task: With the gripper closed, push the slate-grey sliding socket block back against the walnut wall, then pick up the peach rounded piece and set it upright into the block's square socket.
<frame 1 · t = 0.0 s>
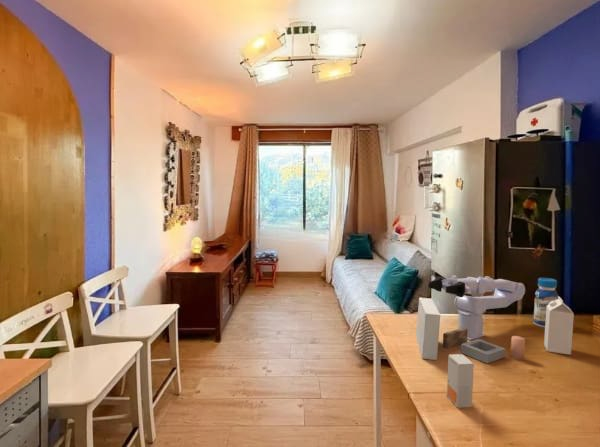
hand: (437, 287, 139), 22 cm above the table, tool horizontal, fingers open, 7 cm apart
socket block: (482, 350, 132), point 2 cm above the table, slide at 5.0 cm
peach rounded piece: (517, 357, 130), on the table
beverage bottle: (544, 325, 163), on the table
milk carton: (556, 350, 137), on the table
walnut wall: (455, 344, 141), on the table
skincare box: (458, 402, 102), on the table
skincare box 2: (426, 348, 138), on the table
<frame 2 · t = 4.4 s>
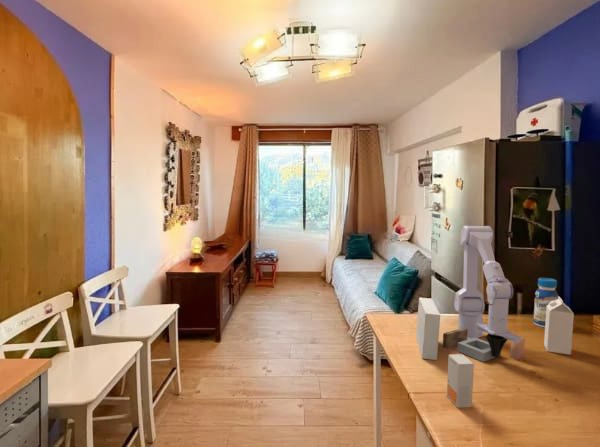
hand: (495, 356, 128), 1 cm above the table, tool pointing down, fingers closed
socket block: (478, 348, 133), point 2 cm above the table, slide at 3.5 cm, touching gripper
everything else where it was.
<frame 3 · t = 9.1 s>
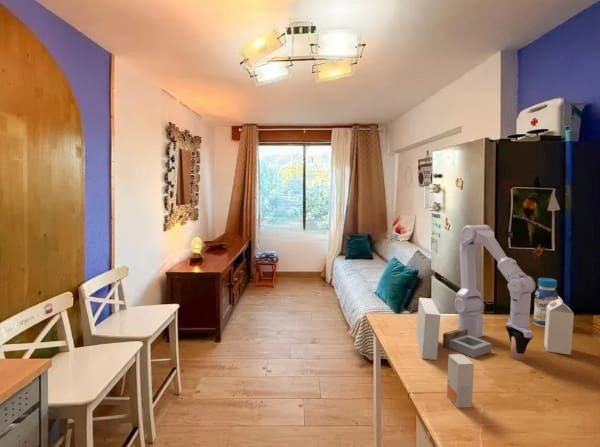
hand: (517, 350, 130), 3 cm above the table, tool pointing down, fingers closed on peach rounded piece, 4 cm apart
socket block: (469, 345, 136), point 2 cm above the table, slide at 0.0 cm
peach rounded piece: (517, 357, 130), on the table, touching gripper
everything else where it was.
when the fingers open (4 cm above the table, at t = 13.2 s): peach rounded piece drops 1 cm, resting in socket block.
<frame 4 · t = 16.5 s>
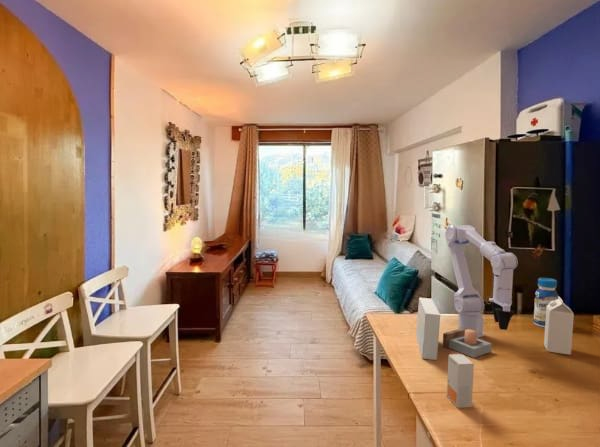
hand: (500, 325, 133), 10 cm above the table, tool pointing down, fingers open, 7 cm apart
peach rounded piece: (470, 350, 136), resting in socket block
everything else where it was.
at the end: socket block slide at 0.0 cm; peach rounded piece 0.2 cm off-centre on the socket block, point 0.0 cm above the socket block's base; peach rounded piece tilted 0° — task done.
